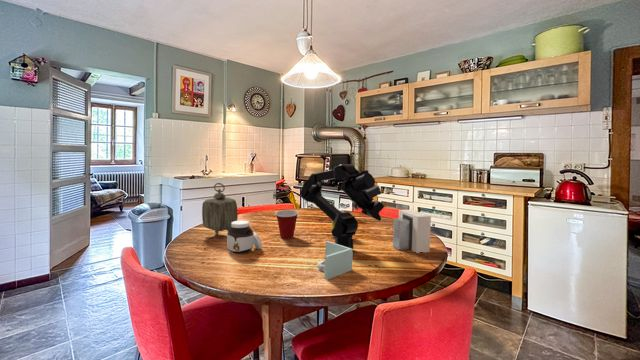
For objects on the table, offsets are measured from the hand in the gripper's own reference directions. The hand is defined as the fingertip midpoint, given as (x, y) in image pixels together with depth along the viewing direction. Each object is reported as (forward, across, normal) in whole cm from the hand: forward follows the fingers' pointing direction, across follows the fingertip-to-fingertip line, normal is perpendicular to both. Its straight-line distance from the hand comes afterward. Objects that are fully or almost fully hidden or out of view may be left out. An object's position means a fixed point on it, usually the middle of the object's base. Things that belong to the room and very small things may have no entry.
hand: (380, 219), depth 120 cm
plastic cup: (-15, +27, +33) cm, 45 cm away
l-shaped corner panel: (-10, -14, +28) cm, 33 cm away
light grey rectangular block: (+18, 0, 0) cm, 18 cm away
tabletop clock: (-36, +36, +54) cm, 74 cm away
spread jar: (-28, +13, +46) cm, 56 cm away
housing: (+20, 0, -2) cm, 20 cm away
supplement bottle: (+2, +23, +16) cm, 28 cm away
